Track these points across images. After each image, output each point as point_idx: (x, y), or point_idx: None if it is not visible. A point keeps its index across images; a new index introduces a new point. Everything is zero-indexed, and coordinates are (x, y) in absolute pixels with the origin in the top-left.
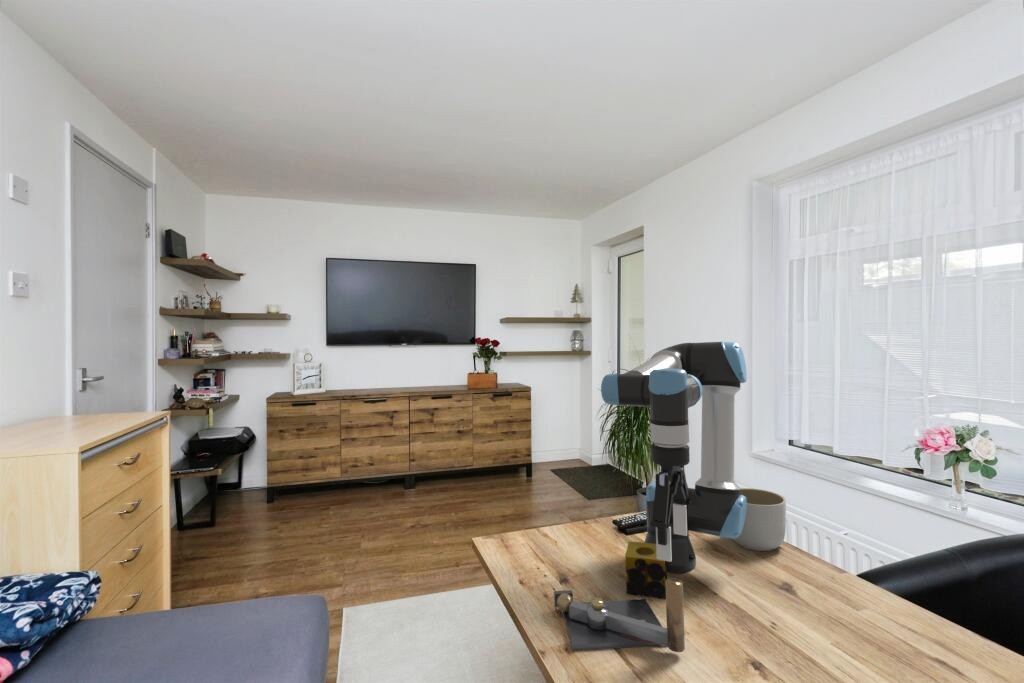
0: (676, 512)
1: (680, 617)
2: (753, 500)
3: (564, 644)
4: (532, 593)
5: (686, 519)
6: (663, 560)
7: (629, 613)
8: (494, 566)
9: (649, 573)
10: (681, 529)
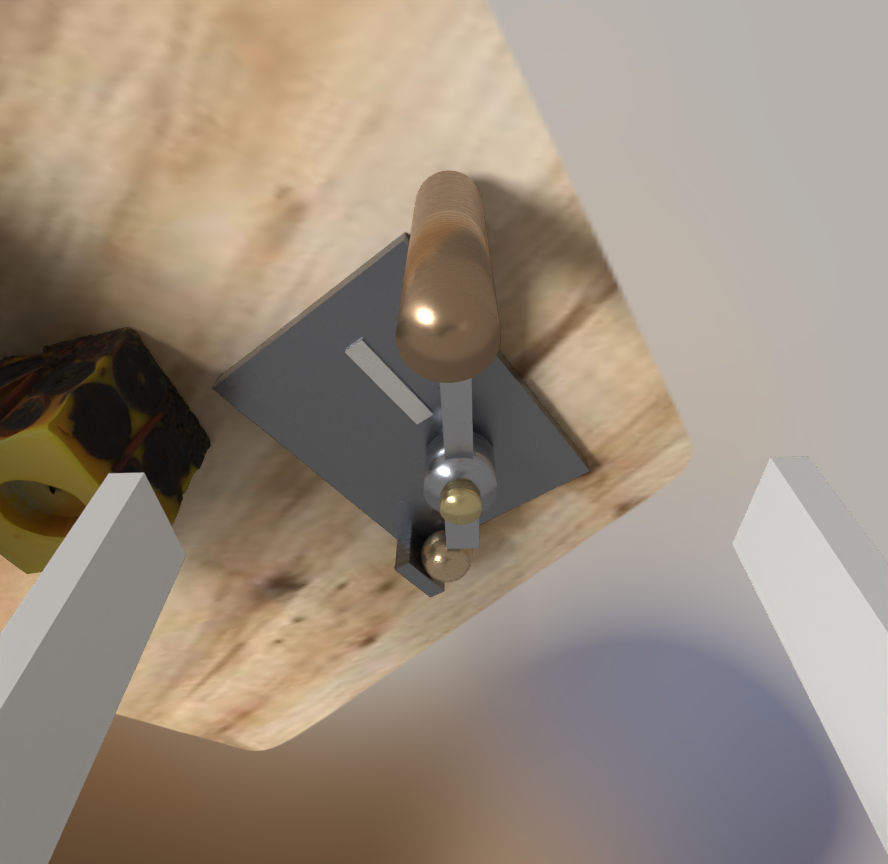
0: (68, 761)
1: (472, 227)
2: None
3: (568, 483)
4: (398, 609)
5: (25, 620)
6: (47, 430)
7: (338, 402)
8: (347, 696)
9: (125, 435)
10: (138, 551)
